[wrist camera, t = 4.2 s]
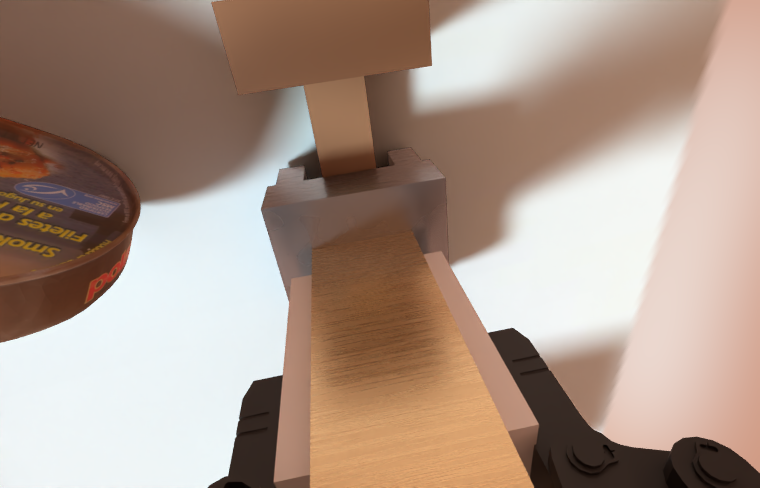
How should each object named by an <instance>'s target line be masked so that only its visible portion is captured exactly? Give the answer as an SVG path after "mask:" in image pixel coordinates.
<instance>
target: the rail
mask: <svg viewBox="0 0 760 488" xmlns="http://www.w3.org/2000/svg"><path fill="white" fill-rule="evenodd" d="M211 3H212V6H213V10H214V13H215V17H216V20H217V24H218V27H219V30H220V34H221V37H222V41H223V44H224V48H225V51H226V55H227V58H228V61H229V65H230V68H231V72H232V75H233V79H234V82H235V86H236V89H237V92H238V95H243V94H249V93H256V92H262V91H269V90H275V89H282V88H289V87H295V86H302V85H304V90H305V95H306V100H307V104H308V109H309V114H310V119H311V124H312V129H313V133H314V138H315V143H316V148H317V153H318V157H319V162H320V167H321V172H322V177H328V176H334V175H340V174H346V173H352V172H358V171H364V170H369V169H375V168H376V162H375V155H374V147H373V139H372V132H371V124H370V117H369V109H368V102H367V94H366V86H365V79H364V76H368V75H374V74H381V73H387V72H394V71H401V70H407V69H414V68H420V67H427V66H432V58H431V38H430V17H429V0H223V1H216V2H211Z"/></svg>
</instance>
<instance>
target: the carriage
mask: <svg viewBox="0 0 760 488" xmlns="http://www.w3.org/2000/svg"><path fill="white" fill-rule="evenodd" d="M387 153H388V162H389V166H387V167H381V168H375V169H369V170H364V171H358V172H352V173H346V174H340V175H334V176H328V177H322V178H316V179H310V180H308V179H307V175H306V170H305V166H304V165H302V166H296V167H290V168H284V169H279V173H278V178H277V182H276V185H274V186H268V187H267V190H266V193H265V197H264V200H263V204H262V207H261V211H262V215H263V218H264V221H265V225H266V228H267V231H268V234H269V238H270V241H271V244H272V247H273V251H274V254H275V257H276V261H277V264H278V267H279V270H280V274H281V277H282V280H283V283H284V287H285V290H286V293H287V297H288V300H290V288H291V279H292V278H298V277H303V276H308V275H312V289H311V408H310V488H534V486H533V484H532V482H531V480H530V477H529V475H528V473H527V471H526V469H525V467H524V465H523V463H522V461H521V459H520V456H519V454H518V452H517V450H516V448H515V446H514V444H513V442H512V440H511V438H510V435H509V433H508V431H507V429H506V427H505V425H504V423H503V421H502V419H501V417H500V414H499V412H498V410H497V408H496V406H495V404H494V402H493V400H492V398H491V396H490V393H489V391H488V389H487V387H486V385H485V383H484V381H483V379H482V377H481V375H480V372H479V370H478V368H477V366H476V364H475V362H474V360H473V358H472V356H471V354H470V351H469V349H468V347H467V345H466V343H465V341H464V339H463V337H462V335H461V333H460V330H459V328H458V326H457V324H456V322H455V320H454V318H453V316H452V314H451V312H450V310H449V307H448V305H447V303H446V301H445V299H444V297H443V295H442V293H441V291H440V289H439V286H438V284H437V282H436V280H435V278H434V276H433V274H432V272H431V270H430V268H429V265H428V263H427V261H426V259H425V257H424V255H423V254H427V253H433V252H438V251H442V253H443V255H444V256H445V258H446V260H447V262H448V264H449V257H448V231H447V205H446V180H445V177H444V175H443V174H442V173H441V172H440V171H439V170H438V168H437V167H436V166H435V165H434V164H433V163H432V162H431V160H430V159H429V160H423V161H422V160H421V159H420V158H419V157H418V155H417V154H416V153H415V152H414V150H413V149H412V148H405V149H399V150H393V151H387Z"/></svg>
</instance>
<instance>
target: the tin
mask: <svg viewBox="0 0 760 488" xmlns="http://www.w3.org/2000/svg"><path fill="white" fill-rule="evenodd" d="M140 209H141V204H140V198H139V194H138V192H137V190H136V188H135V186H134V184H133V183H132V182H131V180H130V179H129V178H128V177H127V176H126V175H125V174H124V173H123V172H122V171H121V170H120V169H119V168H118V167H117V166H116V165H114V164H113V163H111V162H110V161H109V160H107V159H105V158H104V157H102V156H100V155H99V154H97V153H95V152H94V151H92V150H90V149H88V148H86V147H83V146H81V145H79V144H76V143H74V142H72V141H70V140H67V139H64V138H61V137H59V136H56V135H53V134H50V133H47V132H44V131H41V130H38V129H35V128H32V127H29V126H26V125H23V124H19V123H16V122H13V121H10V120H7V119H4V118H1V117H0V343H1V342H5V341H9V340H13V339H17V338H20V337H23V336H27V335H30V334H33V333H36V332H39V331H42V330H44V329H47V328H49V327H52V326H54V325H57V324H59V323H61V322H64V321H66V320H68V319H70V318H72V317H74V316H75V315H77V314H79V313H80V312H82V311H83V310H85V309H86V308H88V307H89V306H90V305H91V304H92V303H94V302H95V301H96V300H97V299H98V298H100V297H101V296H102V295H103V294H104V293H105V292H106V291H107V290H108V289H109V288H110V287H111V286H112V285H113V284H114V283H115V281H116V280H117V279H118V278H119V276H120V274H121V273H122V271H123V269H124V267H125V265H126V262H127V259H128V255H129V251H130V246H131V241H132V234H133V228H134V227H135V225H136V223H137V221H138V218H139V216H140Z"/></svg>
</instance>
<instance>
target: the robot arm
mask: <svg viewBox="0 0 760 488" xmlns="http://www.w3.org/2000/svg"><path fill="white" fill-rule="evenodd" d="M423 255H424V257H425V259H426V261H427V263H428V265H429V268H430V270H431V272H432V274H433V276H434V278H435V280H436V282H437V284H438V286H439V289H440V291H441V293H442V295H443V297H444V299H445V301H446V303H447V305H448V307H449V310H450V312H451V314H452V316H453V318H454V320H455V322H456V324H457V326H458V328H459V330H460V333H461V335H462V337H463V339H464V341H465V343H466V345H467V347H468V349H469V351H470V354H471V356H472V358H473V360H474V362H475V364H476V366H477V368H478V370H479V372H480V375H481V377H482V379H483V381H484V383H485V385H486V387H487V389H488V391H489V393H490V396H491V398H492V400H493V402H494V404H495V406H496V408H497V410H498V412H499V414H500V417H501V419H502V421H503V423H504V425H505V427H506V429H507V431H508V433H509V435H510V438H511V440H512V442H513V444H514V446H515V448H516V450H517V452H518V454H519V456H520V459H521V461H522V463H523V465H524V467H525V469H526V471H527V473H528V475H529V477H530V480H531V482H532V484H533V486H534V488H760V473H759V472H758V471H757V470H756V469H754V468H753V467H752V466H751V465H750V464H749V463H748V462H747V461H746V460H745V459H743V458H742V457H740V456H739V455H738V454H737V453H735V452H734V451H732V450H731V449H729V448H728V447H726V446H723V445H721V444H719V443H717V442H715V441H713V440H708V439H704V438H700V437H690V438H682V439H681V440H679V441H678V442H676V443H675V444H674V445H673V447H672V449H671V451H662V450H652V449H643V448H634V447H629V446H624V445H620V444H617V443H615V442H612V441H610V440H609V439H608V438H607V437H605V436H604V435H603V434H602V433H599V432H597V431H595V430H593V429H592V428H591V427H590V426H589V425H588V424H587V423H586V422H585V420H584V419H583V418H582V416H581V415H580V414H579V412H578V411H577V409H576V408H575V406H574V405H573V403H572V402H571V400H570V399H569V397H568V396H567V394H566V393H565V392H564V390H563V389H562V387H561V386H560V384H559V383H558V381H557V380H556V378H555V377H554V375H553V374H552V373H551V371H549V370H548V367H547V365H546V364H545V362H544V361H543V359H542V358H540V356H539V353H538V352H537V351H536V349H535V348H534V346H533V345H532V343H531V342H530V340H529V339H528V338H526V337H525V336H523V335H522V334H521V333H519V332H518V331H517V330H515V329H514V328H510V329H505V330H500V331H495V332H490V333H487V331H486V329H485V328H484V326H483V324H482V322H481V320H480V319H479V317H478V315H477V313H476V312H475V310H474V308H473V306H472V304H471V303H470V301H469V299H468V297H467V296H466V294H465V292H464V290H463V288H462V287H461V285H460V283H459V281H458V280H457V278H456V276H455V274H454V272H453V271H452V269H451V267H450V265H449V264H448V262H447V260H446V258H445V256H444V255H443V253H442V251H438V252H433V253H427V254H423ZM311 289H312V275H308V276H303V277H298V278H292V279H291V288H290V300H289V311H288V323H287V334H286V346H285V357H284V369H283V375H281V376H276V377H271V378H267V379H262V380H257V381H253V383H252V385H251V386H250V388H249V390H248V391H247V393H246V394H245V396H244V398H243V400H242V406H241V411H240V416H239V419H240V421H239V422H238V427H237V432H236V435H237V437H236V438H235V443H234V448H233V453H232V459H231V464H230V469H229V474H228V476H226V477H224V478H222V479H220V480H218V481H216V482H215V483H213V484H211V485H210V486H209V487H208V488H310V408H311Z"/></svg>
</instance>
